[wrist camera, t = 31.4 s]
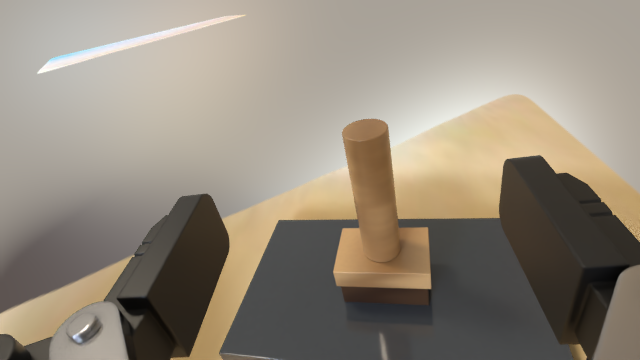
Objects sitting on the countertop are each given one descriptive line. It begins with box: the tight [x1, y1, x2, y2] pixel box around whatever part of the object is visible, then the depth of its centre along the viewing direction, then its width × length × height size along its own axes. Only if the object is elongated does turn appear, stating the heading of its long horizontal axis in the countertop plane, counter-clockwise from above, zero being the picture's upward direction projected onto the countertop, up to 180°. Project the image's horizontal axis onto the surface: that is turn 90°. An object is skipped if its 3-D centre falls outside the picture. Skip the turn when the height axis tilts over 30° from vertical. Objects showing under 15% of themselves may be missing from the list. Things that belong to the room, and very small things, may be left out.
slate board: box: [219, 218, 574, 360], centre depth 28 cm, size 22×14×2 cm, turn 78°
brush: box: [333, 119, 431, 305], centre depth 24 cm, size 6×4×13 cm
